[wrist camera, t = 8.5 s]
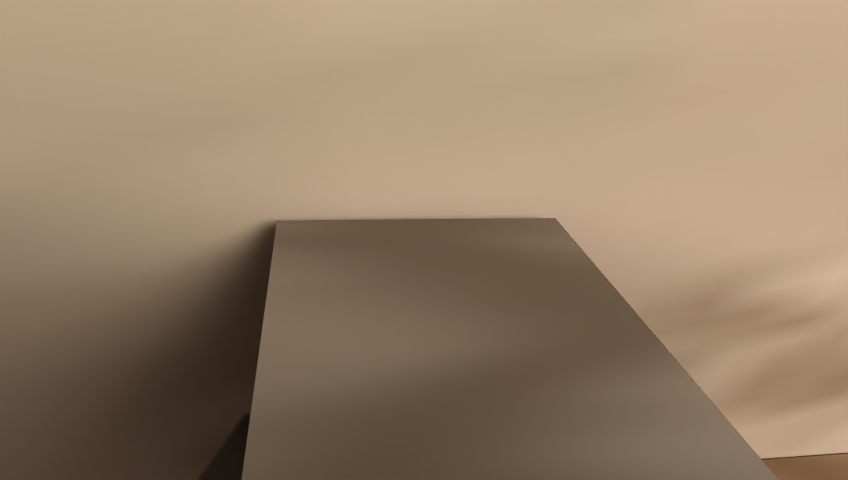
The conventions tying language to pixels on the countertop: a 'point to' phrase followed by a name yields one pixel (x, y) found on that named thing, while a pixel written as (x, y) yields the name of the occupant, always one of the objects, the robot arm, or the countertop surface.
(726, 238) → the countertop surface
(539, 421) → the grey and beige block
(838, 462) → the plank
